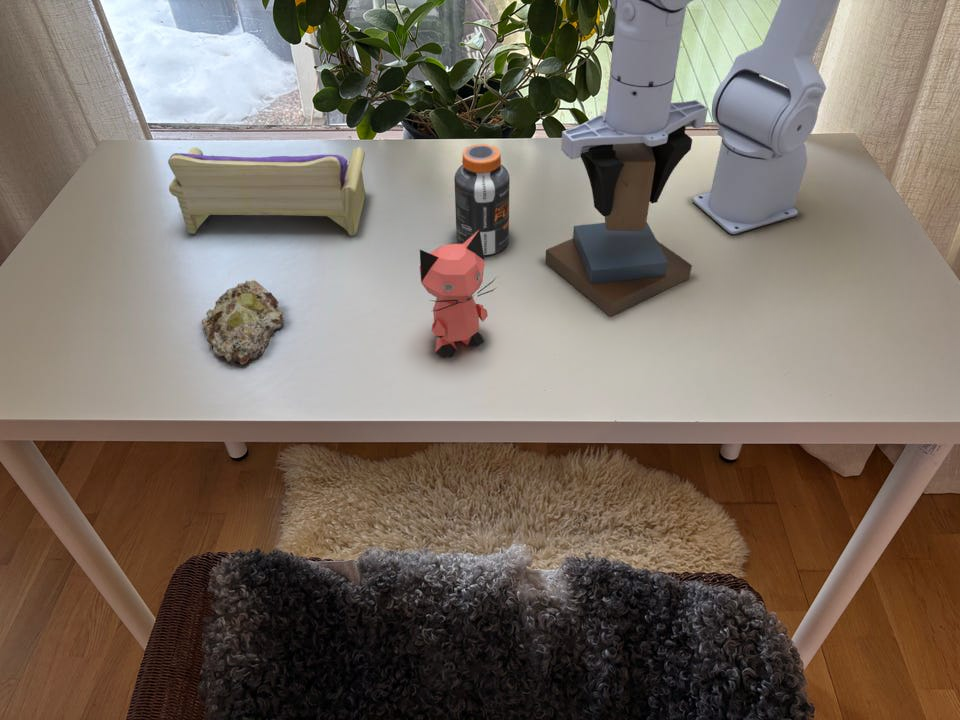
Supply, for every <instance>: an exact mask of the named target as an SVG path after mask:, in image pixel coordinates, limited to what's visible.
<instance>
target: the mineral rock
mask: <svg viewBox="0 0 960 720" xmlns="http://www.w3.org/2000/svg"><path fill="white" fill-rule="evenodd" d="M205 315H207V316H206V317H204V318H202V320H201V325H203V328H204V330H205V331H204V332H205V335H206V338H207V340H208V343H209V344H210V345H212V346H213V348H212V351H213V353H214V354H215V355H217V356H218V357H224V358H225V360H227V362H228V363H229V362H230V363H233V362H237V363H239V364H240V365H241V366H244V365H246V364H247V363H248V362H249V360H251V359H256V358H258V357H260V356H261V355H263V353H264V352H265V349H266V348H268V346H269V344H270V338H271V335H273V333H274V332H275V331H276V330H280V328H281V327H282V325H283V324H284V321H285V319H284V316H283V315H284V313H283V312H282V311H281V309H280V308H279V300H278V299H277V298H276V297H275V296H274V294H273V293H272V292H271V291H270V292H269V290H267V288H265V287H264V286H263V285H261V284H260V283H259V282H258V281H257V280H245V281H244V283H243V282H241V283H238V284H237V285H236V286H235V287H232V288H228V289H226V291H225V292H224V293H223V294H221V295H220V296H219V297H218V299H216V301H215V305H214V308H213V309H210V308H209V309H208V310H207V311H206V314H205Z"/></svg>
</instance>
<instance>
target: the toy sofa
mask: <svg viewBox="0 0 960 720" xmlns="http://www.w3.org/2000/svg"><path fill="white" fill-rule="evenodd" d="M365 156H366V153H365V150H364V149H363V148H362V147H359V146H358V147H354V148H353V149H352V151H351V154H350V156H349V157H350V158H349V161H348V159H347V158H345V157H344V156H343V155H339V154H312V155H300V156H297V155H296V156H291V155H272V156H264V157H263V156H262V157H251V156H249V157H248V156H247V157H245V156H227V155H204V153H203V151H202V150H201V149H200V148H198V147H195V146H194V147H191V148H190V149H189V151H188V152H187V153H183V152H175V153H172V154H171V155H170V156H169V158H168V162H167V164H168V166H169V168H170V170H171V172H172V173H173V175H174V177H173V179H172V180H171V182H170V184H169V186H168V191H169V193H170V194H171V195H172V196H174V197H176V199H177V202H178V206H179V208H180V212H181V215H182V218H183V221H184V224H185V227H186V231H187V233H188V234H191V235H193V234H196V233H197V231H198V230H199V228H200V227H201V226H202V225H203V223H204V222H205V221H207V218H209V216H211V215H212V216H225V215H226V216H235V215H236V216H307V217H308V216H309V217H311V216H312V217H313V216H314V217H327V218H329V219H330V220H332V221H333V222H335V223H336V224H337V225H339V226H340V227H341V228H343V229H344V230H345V231H346V232H347V234H348V235H349V236H350V237H355V236H356V235H357V233H358V231H359V227H360V222H361V219H362V214H363V209H364V204H365V199H366V189H365V183H364V178H363V176H364V175H363V171H362V170H363V164H364V161H365Z"/></svg>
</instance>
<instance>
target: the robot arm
mask: <svg viewBox="0 0 960 720" xmlns="http://www.w3.org/2000/svg"><path fill="white" fill-rule="evenodd" d="M839 1H840V0H780V3H779V4H778V7H777V9H776V11H775V14H774V16H773V19H772V22H771V23H770V25H769V28H768V30H767V34H766V35H765V37H764V40H763V43H762V44H760V45H759V46H757V47H755V48H752V49H750V50H748V51H745V52H743V53H740V54H739V55H737V56H736V57H735V59H734V61H733V64H732V66H731V68H730V70H729V72H728V73H727V74H726V76H725V77H724V79H723V80H722V81H721V82H720V83H719V86H718V87H717V89H716V90H715V93H714V95H713V98H712V102H711V118H712V120H713V122H714V123H715V124H717V125H718V129H717V133H716V134H717V135H718V136H719V137H720V138H721V142H720V146H719V151H718V156H717V161H716V164H715V170H714V175H713V179H712V183H711V187H710V188H711V189H710V192H705V193H703V194H699V195H696V196H693V198H692V202H693V203H694V204H695V205H696V206H697V207H698V208H699V209H701V210H702V211H703V212H704V213H706V215H708V216H709V217H710V218H711V219H712V220H714V221H715V222H716V223H717V224H718V225H720V226H721V228H723V229H724V230H725V231H726V232H728V233H729V234H730V235H736V234H739V233H743V232H746V231H749V230H753V229H756V228H760V227H763V226H767V225H769V224H770V225H771V224H773V223H777V222H779V221H783V220H787V219H790V218H793V217H797V216H798V213H799V212H798V210H797V209H796V208H795V204H796V201H797V198H798V195H799V191H800V188H801V184H802V181H803V178H804V176H805V175H804V174H805V171H806V168H807V164H808V154H807V148H806V145H805V142H807V140H808V139H809V137H810V136H811V134H812V132H813V130H814V128H815V126H816V123H817V119H818V115H819V114H818V113H819V109H820V105H821V103H822V100H823V97H824V95H825V92H826V90H827V87H826V83H825V82H824V79H823V78H822V76H821V74H820V71H819V70H818V68H817V66H816V64H815V62H814V59H813V58H814V56H815V54H816V51H817V49H818V47H819V45H820V42H821V40H822V38H823V37H824V34H825V32H826V29H827V27H828V25H829V24H830V21H831V19H832V17H833V14H834V12H835V10H836V8H837V5H838V4H839ZM691 2H694V0H611V5H610V8H612V10H613V13H614V14H615V18H614V28H613V39H612V49H611V59H610V67H609V69H610V70H609V80H608V89H607V90H608V91H607V100H606V108H605V109H606V110H605V111H604V112H602V113H601V114H598V115H597V116H595V117H593V118H591V119H589V120H587V121H585V122H583V123H581V124H580V125H577V126H575V127H572V128H570V129H566V130H563V131H562V132H561V146H560V151H562V152H563V153H564V155H565V156H566V157H568V158H569V159H570V160H576V159H579V158H580V159H581V161H582V163H583V166H584V168H585V170H586V173H587V176H588V179H589V184H590V188H591V193H592V199H593V208H595V210H597V212H598V213H599V214H600V215H601V216H602V217H604V216H608V215H610V213H611V211H612V207H613V199H614V191H615V187H616V183H617V180H618V177H619V175H620V172H621V170H622V168H623V166H624V165H625V164H624V163H623V162H622V161H620V160H619V159H618V158H617V157H616V156H615V154H616V151H615V150H613V145H616V144H631V143H645V144H646V145H647V146H651V147H652V150H653V154H654V159H655V170H654V176H653V183H652V189H651V196H650V202H649V203H650V204H656V203H658V201H659V199H660V196H661V195H662V192H663V190H664V189H665V187H666V184H667V183H668V180H669V179H670V177H671V175H672V174H673V172H674V170H675V168H676V167H677V166H678V165H679V163H680V162H681V161H682V159H684V157H686V155H687V154H688V153H689V152H690V151H691V150H692V145H693V139H692V137H691V136H689V135H688V134H687V133H686V128H689V127H692V128H693V129H701V128H704V127H705V125H706V120H707V116H708V110H709V108H708V107H707V106H705V105H704V104H702V103H701V102H700V101H698V99H694V100H693V99H692V100H689V101H679V102H678V101H677V102H672V99H673V98H672V97H673V93H674V86H675V79H676V74H677V67H678V61H679V55H680V54H679V53H680V47H681V42H682V37H683V36H682V35H683V31H684V30H683V29H684V24H685V17H686V11H687V6H688V5H689V4H690V3H691ZM781 84H782V85H781Z"/></svg>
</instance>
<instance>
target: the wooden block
mask: <svg viewBox="0 0 960 720" xmlns="http://www.w3.org/2000/svg"><path fill="white" fill-rule="evenodd" d="M613 150H615V151H616V154H615V156H616V157H617V158H618V159H619V160H620V161H622V162H623V163H624V164H625V165H624V166H623V168H622V170H621V172H620V175H619V177H618V180H617V183H616V187H615V191H614V199H613V207H612V211H611V213H610V215H608V216H603V217H604V223H605V225H606V229H607V230H609V231H643V230H644V229H645V227H646V221H647V222H648V215H649V208H650V203H651V202H650V196H651V189H652V183H653V176H654V170H655V159H654V154H653V150H652V147H651V146H647V145H646V144H645V143H631V144H616V145H613Z"/></svg>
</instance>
